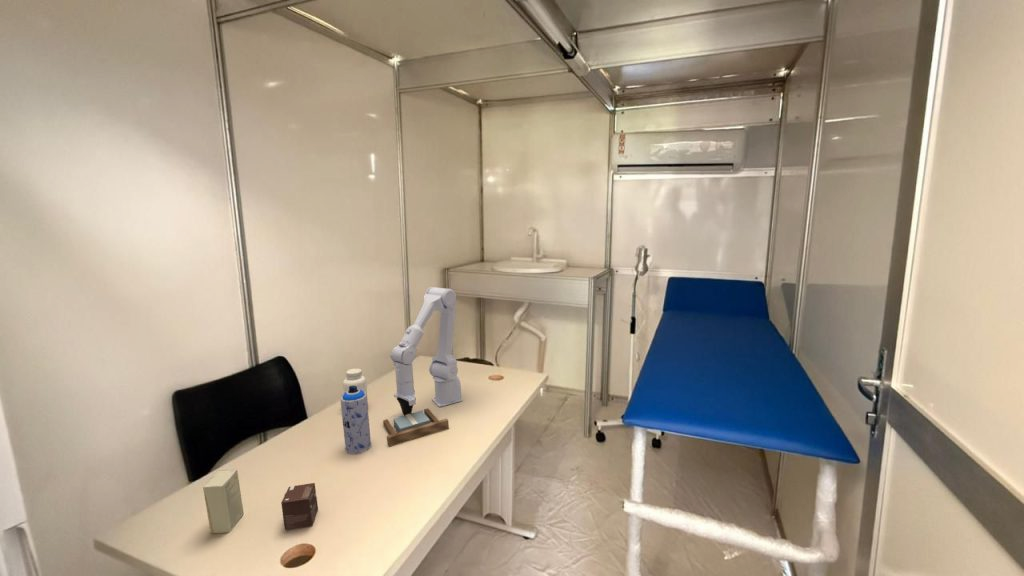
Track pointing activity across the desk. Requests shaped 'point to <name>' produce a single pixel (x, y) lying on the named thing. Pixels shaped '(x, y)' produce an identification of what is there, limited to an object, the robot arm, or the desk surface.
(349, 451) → the aerosol can
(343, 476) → the desk surface
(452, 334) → the robot arm
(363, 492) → the desk surface
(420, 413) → the carton
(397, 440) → the stand
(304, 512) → the box
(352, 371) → the pill bottle
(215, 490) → the skincare box
